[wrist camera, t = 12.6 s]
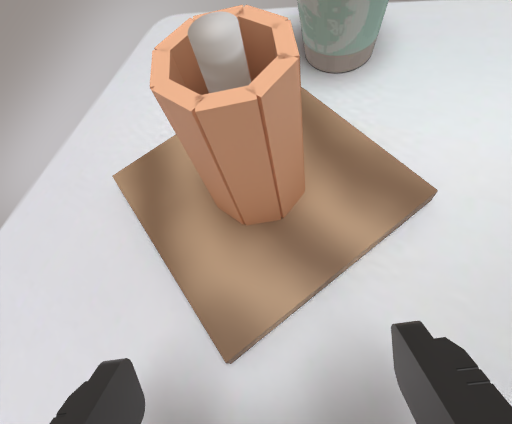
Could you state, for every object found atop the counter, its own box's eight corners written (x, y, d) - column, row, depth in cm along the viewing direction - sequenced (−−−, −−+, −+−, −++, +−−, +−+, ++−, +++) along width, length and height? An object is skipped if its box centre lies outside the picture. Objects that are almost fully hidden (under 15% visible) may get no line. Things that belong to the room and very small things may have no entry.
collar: (294, 141, 23) (283, -5, 14) (310, 215, 20) (308, 88, 11) (214, 156, 23) (154, 25, 15) (218, 230, 20) (147, 121, 12)
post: (278, 79, 28) (256, -107, 17) (431, 199, 20) (562, 6, 10) (120, 184, 25) (-23, 42, 14) (231, 363, 18) (108, 346, 7)
